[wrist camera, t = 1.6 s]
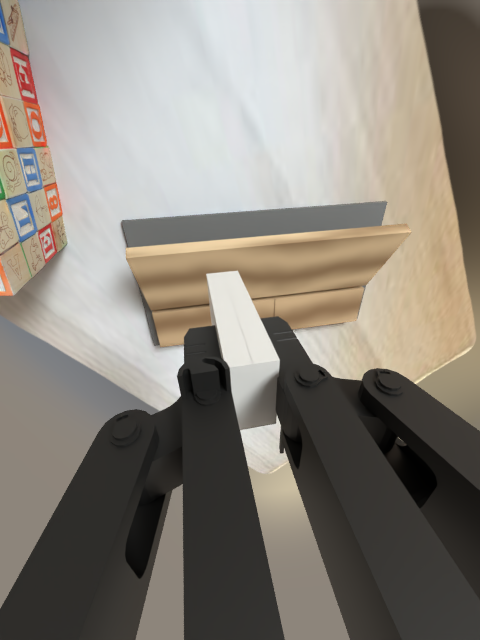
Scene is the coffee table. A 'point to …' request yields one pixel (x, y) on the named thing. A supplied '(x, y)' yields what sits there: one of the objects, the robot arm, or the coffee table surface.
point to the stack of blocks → (23, 165)
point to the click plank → (264, 263)
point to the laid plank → (267, 312)
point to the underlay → (248, 228)
